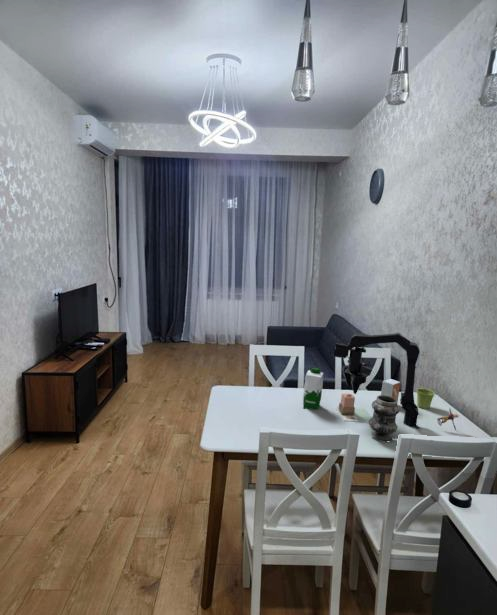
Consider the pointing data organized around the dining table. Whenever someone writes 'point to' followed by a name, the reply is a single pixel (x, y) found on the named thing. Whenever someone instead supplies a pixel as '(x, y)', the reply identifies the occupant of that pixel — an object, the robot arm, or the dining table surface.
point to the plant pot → (424, 398)
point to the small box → (391, 388)
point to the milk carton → (313, 389)
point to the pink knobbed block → (347, 400)
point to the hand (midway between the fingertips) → (351, 390)
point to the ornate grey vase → (384, 418)
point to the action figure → (450, 417)
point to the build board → (356, 416)
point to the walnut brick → (346, 410)
